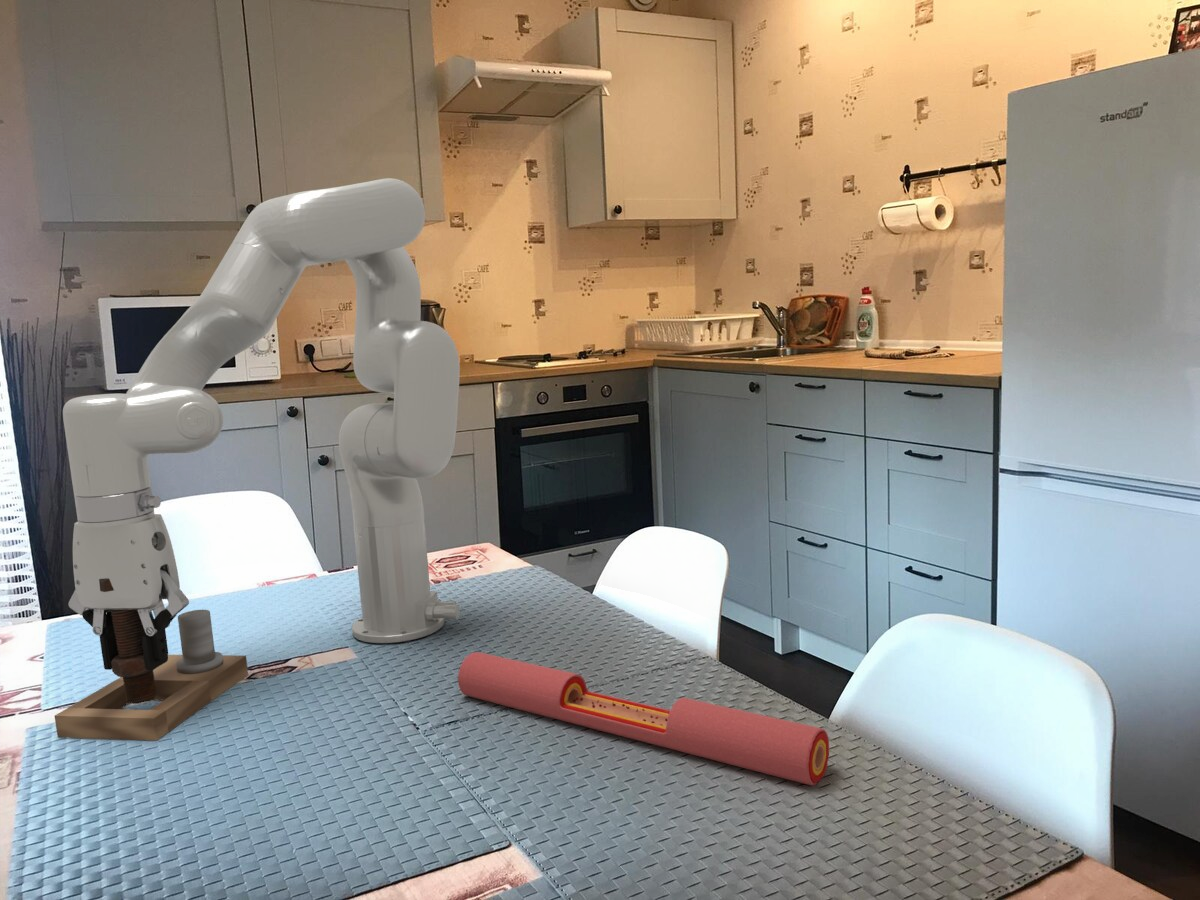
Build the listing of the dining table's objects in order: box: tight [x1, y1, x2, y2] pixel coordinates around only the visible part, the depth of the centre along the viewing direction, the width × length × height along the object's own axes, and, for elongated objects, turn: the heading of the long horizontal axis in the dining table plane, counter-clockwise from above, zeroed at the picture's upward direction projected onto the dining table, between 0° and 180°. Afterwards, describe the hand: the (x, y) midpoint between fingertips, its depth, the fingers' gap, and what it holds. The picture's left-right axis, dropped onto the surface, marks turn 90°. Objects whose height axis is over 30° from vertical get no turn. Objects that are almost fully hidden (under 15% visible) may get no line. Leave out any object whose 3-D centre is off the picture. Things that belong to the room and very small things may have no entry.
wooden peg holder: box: [54, 609, 249, 742], centre depth 109 cm, size 12×18×9 cm, turn 170°
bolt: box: [99, 578, 157, 705], centre depth 106 cm, size 6×5×15 cm
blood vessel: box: [457, 651, 830, 787], centre depth 96 cm, size 42×5×5 cm, turn 55°
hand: (136, 663), depth 106 cm, fingers closed on bolt, 4 cm apart
